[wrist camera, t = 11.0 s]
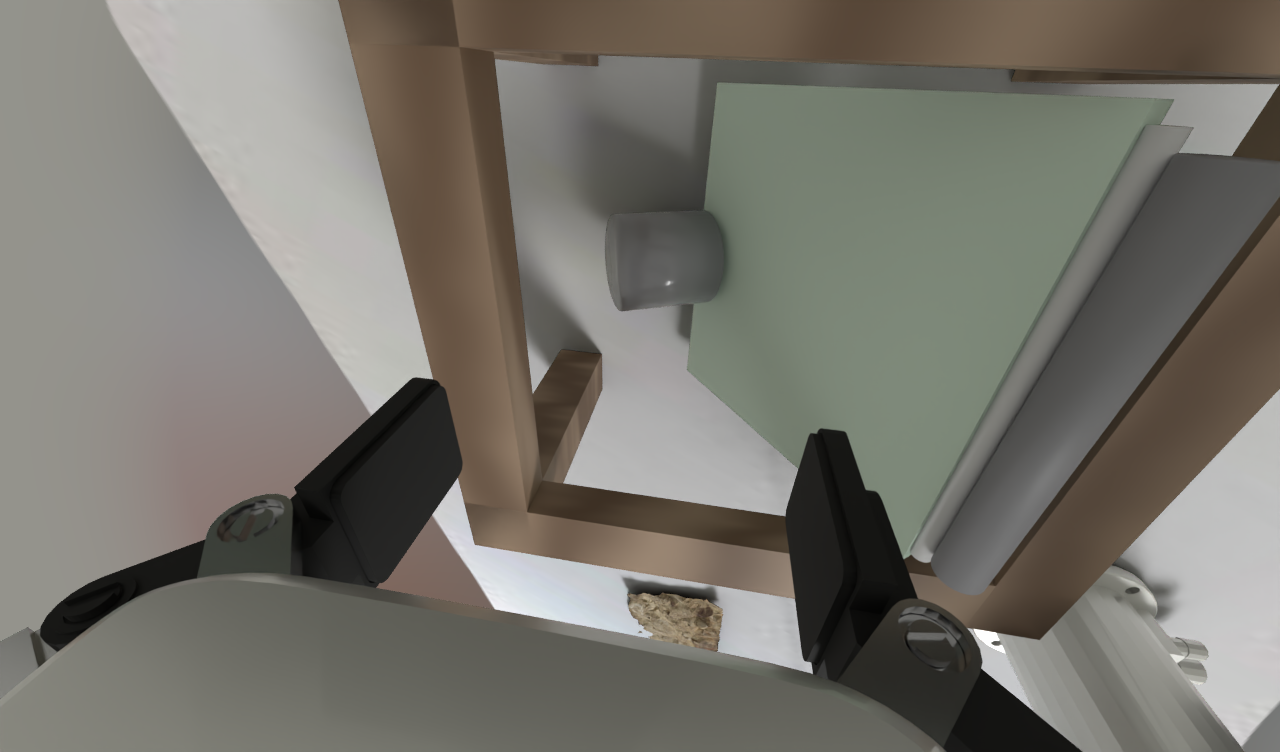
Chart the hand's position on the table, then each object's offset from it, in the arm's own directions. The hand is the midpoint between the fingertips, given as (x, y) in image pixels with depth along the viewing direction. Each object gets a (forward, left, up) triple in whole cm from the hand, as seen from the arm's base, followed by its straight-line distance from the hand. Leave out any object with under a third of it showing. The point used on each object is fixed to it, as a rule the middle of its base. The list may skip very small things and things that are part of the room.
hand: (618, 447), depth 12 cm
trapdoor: (-8, 0, -11) cm, 13 cm away
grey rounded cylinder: (-1, 0, -17) cm, 17 cm away
